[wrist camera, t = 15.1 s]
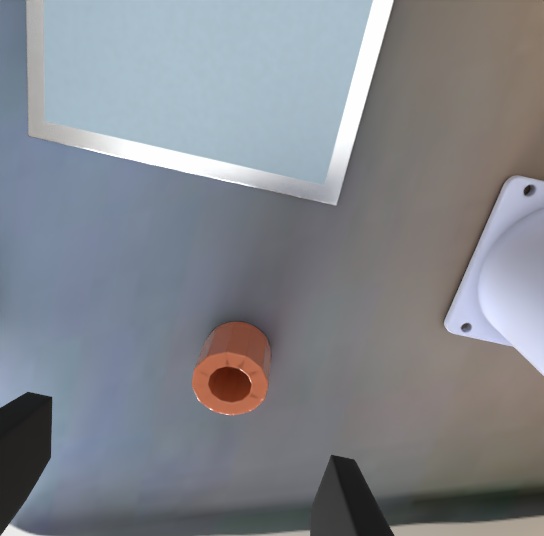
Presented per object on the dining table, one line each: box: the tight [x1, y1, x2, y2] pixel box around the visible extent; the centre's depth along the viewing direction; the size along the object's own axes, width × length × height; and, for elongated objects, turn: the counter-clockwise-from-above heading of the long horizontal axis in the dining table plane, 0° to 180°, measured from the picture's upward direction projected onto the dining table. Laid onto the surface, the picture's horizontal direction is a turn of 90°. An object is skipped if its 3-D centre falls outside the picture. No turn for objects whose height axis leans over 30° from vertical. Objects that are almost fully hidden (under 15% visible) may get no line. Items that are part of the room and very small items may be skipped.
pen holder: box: [192, 322, 271, 415], centre depth 19 cm, size 4×4×3 cm
